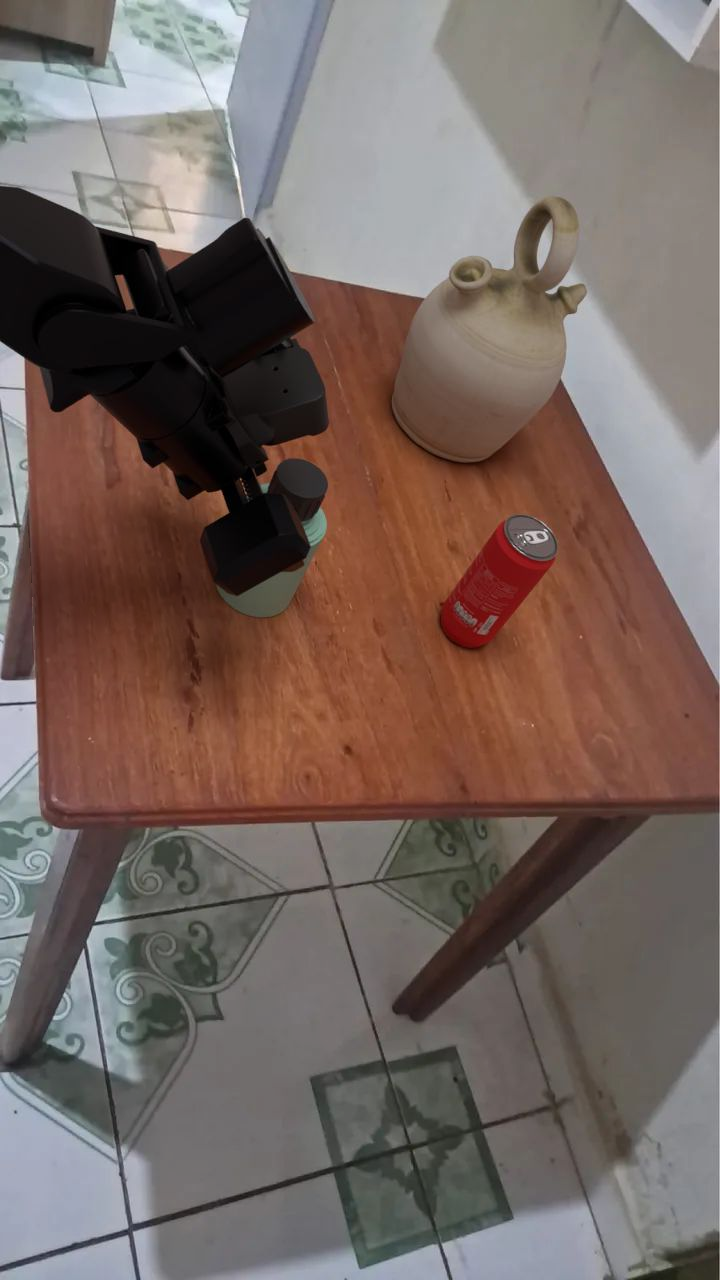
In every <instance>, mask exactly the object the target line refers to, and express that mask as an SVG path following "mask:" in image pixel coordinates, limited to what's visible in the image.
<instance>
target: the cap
mask: <svg viewBox="0 0 720 1280" xmlns="http://www.w3.org/2000/svg"><path fill="white" fill-rule="evenodd" d="M269 483H270V484H269V486H268V491H267V493H283V494H284V495H285V496H286V498H287V499H288V500H289V501H290V502H291V504H292V506H293V507H295V508H296V510H297V513H298V515H299V518H300V520H301V522H303V521H307V520H310V519H312V517H314V515H315V514H316V513H317V512H318V510H319V508H320V507H321V505H322V503H323V502H324V499H325V498H326V493H327V491H328V489H329V482H328V477H327V476H326V474H325V473H324V472H323V470H322V469H321V468H320V467H319V466H317V465H316V464H315V463H313V462H311V461H309V460H306V459H303V458H296V457H295V458H287V459H284V460H282V461H281V462H280V463H279V464H278V465H277V467H276V469H275V470H274V471H273V473H272V476H271V479H270V481H269Z"/></svg>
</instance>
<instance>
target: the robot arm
mask: <svg viewBox="0 0 720 1280" xmlns="http://www.w3.org/2000/svg"><path fill="white" fill-rule="evenodd" d="M116 276H122V277H123V281H124V283H125V287H126V289H127V291H128V296H129V297H130V301H131V304H132V307H133V308H131V309H130V308H129V309H127V307H126V304H125V301H124V299H123V298H124V297H123V295H122V292H121V288H120V286H119V284H118V280H117V277H116ZM315 323H316V319H315V317H314V315H313V313H312V311H311V308H310V306H309V303H308V302H307V300H306V298H305V296H304V294H303V292H302V290H301V289H300V287H299V285H298V283H297V282H296V279H295V277H294V275H293V273H292V272H291V270H290V268H289V267H288V265H287V263H286V261H285V260H284V258H283V256H282V255H281V253H280V251H279V249H278V248H277V246H276V245H275V243H274V242H273V240H272V239H271V237H270V236H268V237H266V236H265V235H264V233H263V232H262V231H261V229H260V228H257V227H256V226H255V224H254V223H253V222H252V219H250V218H249V217H242V218H241V219H240V220H239V221H237V222H235V223H233V224H232V225H231V226H229V227H228V228H226V229H225V230H224V231H223V232H222V233H221V234H220V235H219V236H218V237H217V238H216V239H214V240H213V241H212V242H210V243H208V244H207V245H205V246H204V247H203V248H201V249H199V250H198V251H196V252H195V253H193V254H191V255H190V256H188V257H187V258H186V259H184V260H182V261H180V262H179V263H177V264H176V265H174V266H173V267H170V268H169V267H168V266H167V264H166V263H165V262H164V260H163V258H162V255H161V253H160V251H159V247H158V244H157V243H156V242H155V241H154V240H150V239H147V238H142V237H138V236H135V235H131V234H128V233H123V232H120V231H115V230H111V229H108V228H104V227H100V226H97V225H96V226H95V225H94V224H93V223H92V222H91V220H89V219H88V218H87V217H86V216H85V215H83V214H81V213H79V212H77V211H75V210H73V209H70V208H68V207H66V206H64V205H61V204H59V203H57V202H54V201H52V200H51V199H50V200H49V199H48V198H45V197H43V196H40V195H38V194H36V193H33V192H31V191H29V190H26V189H24V188H21V187H17V186H16V187H15V186H7V185H0V343H2V345H5V346H6V347H8V348H9V349H11V350H12V351H13V352H15V353H17V354H18V355H19V356H20V357H22V358H23V359H25V360H27V361H28V362H29V363H31V364H33V365H35V366H36V367H38V368H39V371H40V374H41V378H42V382H43V386H44V390H45V393H46V394H45V395H46V398H47V401H48V405H49V408H50V410H51V411H52V412H53V413H57V414H58V413H61V412H64V411H65V410H66V409H68V408H70V407H71V406H73V405H75V404H76V403H77V402H79V401H81V400H82V399H84V398H85V397H87V396H91V398H93V399H94V400H95V401H96V402H97V403H98V404H99V405H100V406H101V407H102V408H103V409H104V410H106V411H107V412H108V413H109V414H110V416H112V417H113V418H114V419H115V420H116V421H117V422H118V423H120V424H121V426H123V428H125V429H126V430H127V431H128V432H129V433H130V434H132V436H133V437H135V438H136V441H137V446H138V448H139V451H140V455H141V458H142V461H144V463H146V464H147V465H148V466H149V467H150V468H151V469H154V468H156V467H157V466H159V465H161V464H164V466H166V467H167V469H169V470H170V471H171V472H172V474H173V477H174V481H175V484H176V487H177V490H178V492H179V495H181V497H183V498H184V499H186V500H187V501H190V500H191V499H193V498H194V497H196V496H198V495H200V494H201V493H203V492H206V493H208V494H209V493H215V492H219V491H221V494H222V496H223V500H224V502H225V505H226V508H227V510H228V513H226V514H224V515H223V516H221V517H220V518H218V519H216V520H214V521H213V522H211V523H209V524H207V525H206V526H204V527H203V530H202V533H201V535H200V538H199V543H200V546H201V549H202V552H203V556H204V558H205V562H206V565H207V567H208V571H209V575H210V576H211V580H212V583H214V584H215V586H216V585H218V586H219V587H220V588H221V589H223V590H224V591H225V592H226V593H228V594H231V595H235V596H239V595H241V594H242V593H244V592H246V591H248V590H250V589H251V588H253V587H255V586H257V585H259V584H260V583H262V582H264V581H266V580H268V579H269V578H271V577H273V576H275V575H277V574H278V573H280V572H294V571H296V570H298V569H299V568H301V567H303V566H304V565H305V564H304V561H303V559H305V558H306V557H307V555H308V553H309V550H310V548H311V545H310V543H309V541H308V538H307V536H306V533H305V530H304V528H303V525H302V523H301V520H300V518H299V515H298V513H297V510H296V508H295V507H293V506H292V504H291V502H290V501H289V500H288V499H287V498H286V496H285V495H284V494H283V493H263V491H262V489H261V486H260V485H261V484H260V481H259V479H258V477H260V476H262V475H263V474H265V473H266V472H267V471H268V468H267V465H266V462H268V461H269V460H270V459H269V457H268V453H267V451H266V448H264V447H263V446H265V447H274V446H278V445H281V444H285V443H288V442H291V441H293V440H298V439H300V438H304V437H307V436H310V437H314V436H318V435H320V434H323V433H324V432H325V431H326V430H328V428H329V425H330V420H329V419H330V418H329V410H328V402H327V401H328V400H327V393H326V386H325V382H324V381H323V379H322V376H321V375H320V373H319V370H318V368H317V366H316V364H315V362H314V359H313V357H312V356H311V353H310V352H309V351H308V350H307V349H305V348H304V347H301V345H300V344H299V342H298V339H297V338H293V339H292V337H294V336H295V335H297V334H298V333H300V332H302V331H304V330H305V329H306V328H308V327H310V326H312V325H314V324H315ZM289 338H291V340H290V341H291V344H289V343H288V342H287V341H286V340H287V339H289ZM184 345H186V346H187V347H188V349H187V350H185V349H184V348H183V346H184ZM247 497H248V499H247ZM248 500H249V502H248Z"/></svg>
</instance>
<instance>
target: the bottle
mask: <svg viewBox="0 0 720 1280" xmlns="http://www.w3.org/2000/svg"><path fill="white" fill-rule="evenodd" d="M269 484H270V482H268V483H267V482H266V483H262V484H260V486H261V489H262V491H263V493H267V491H268V486H269ZM247 499H248V497H247ZM248 502H249V500H248ZM326 517H327V516H326V515H325V512H324V510H323V509H322V507H321V506H320V508H319V510H318V512H317V513H316V514H315V515H314V517H312V519H310V520H307V521H303V522H301V523H302V525H303V528H304V530H305V533H306V536H307V538H308V541H309V543H310V545H311V548H310V550H309V553H308V555H307V557H306V558H305V559H303V561H304V564H305V565H304V566H303V567H301V568H299V569H298V570H296V571H294V572H280V573H278V574H277V575H275V576H273V577H271V578H269V579H268V580H266V581H264V582H262V583H260V584H259V585H257V586H255V587H253V588H251V589H250V590H248V591H246V592H244V593H242V594H241V595H239V596H235V595H231V594H228V593H226V592H225V591H224V590H223V589H221V588H220V587H219V586H218V585H216V584H215V586H216V590H217V592H218V594H219V595H220V597H221V598H222V599H223V600H224V602H225V603H226V604H228V606H230V607H231V608H232V609H234V610H235V611H237V612H239V613H241V614H243V615H246V616H249V617H254V618H263V619H264V618H270V617H275V616H278V615H280V614H281V613H283V612H284V611H285V610H286V609H288V607H289V606H290V604H291V602H292V600H293V598H294V596H295V594H296V593H297V590H298V588H299V586H300V584H301V583H302V581H303V579H304V576H305V574H306V573H307V572H308V571H307V570H308V568H309V566H310V564H311V562H312V560H313V558H314V557H315V555H316V553H317V551H318V549H319V547H320V545H321V543H322V541H323V539H324V537H325V535H326V533H327V528H328V523H327V518H326Z"/></svg>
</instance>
